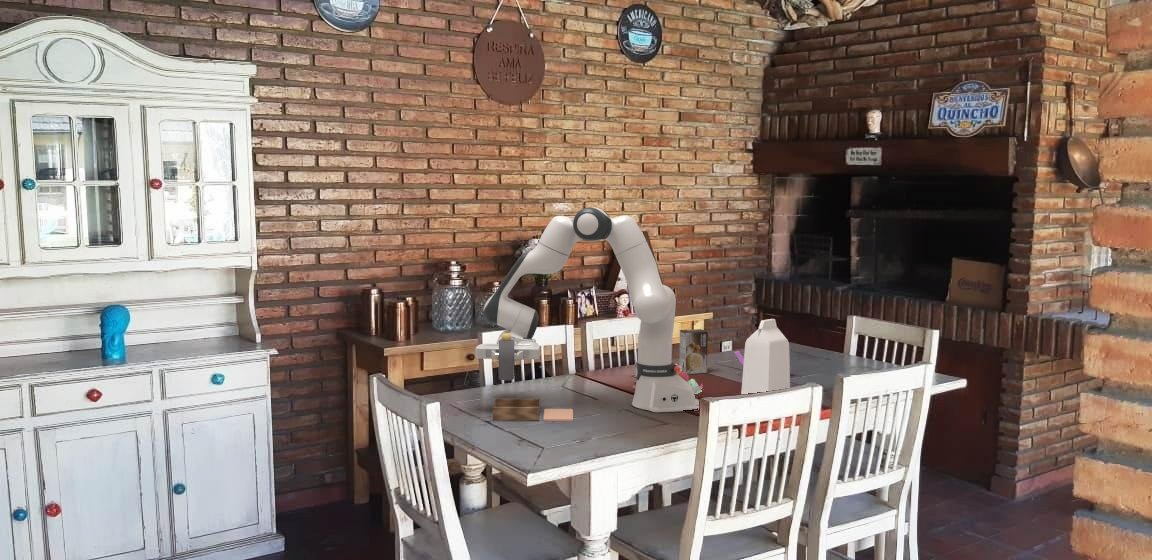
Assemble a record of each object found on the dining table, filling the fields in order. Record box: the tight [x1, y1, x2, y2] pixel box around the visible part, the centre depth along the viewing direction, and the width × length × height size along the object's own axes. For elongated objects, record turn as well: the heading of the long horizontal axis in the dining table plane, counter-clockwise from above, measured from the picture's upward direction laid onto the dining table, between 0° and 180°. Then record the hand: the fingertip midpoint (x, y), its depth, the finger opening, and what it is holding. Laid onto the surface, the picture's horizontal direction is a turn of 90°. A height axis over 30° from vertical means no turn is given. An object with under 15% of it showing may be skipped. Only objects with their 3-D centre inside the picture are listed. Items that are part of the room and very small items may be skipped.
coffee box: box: [679, 328, 709, 375], centre depth 342 cm, size 9×6×16 cm
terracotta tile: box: [543, 408, 574, 422], centre depth 279 cm, size 9×12×1 cm
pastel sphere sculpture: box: [632, 363, 704, 394], centre depth 314 cm, size 25×24×9 cm
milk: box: [740, 318, 791, 395], centre depth 307 cm, size 12×12×26 cm
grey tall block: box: [498, 333, 515, 381], centre depth 276 cm, size 5×5×14 cm
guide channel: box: [492, 398, 541, 422], centre depth 278 cm, size 14×11×4 cm
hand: (506, 356), depth 276 cm, fingers closed on grey tall block, 5 cm apart
